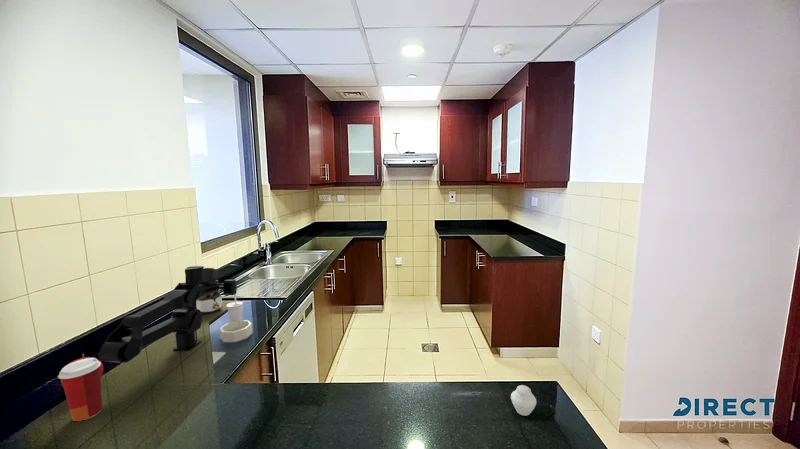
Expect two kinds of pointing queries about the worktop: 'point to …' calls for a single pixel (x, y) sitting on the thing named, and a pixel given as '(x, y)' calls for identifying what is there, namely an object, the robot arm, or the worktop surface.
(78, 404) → the paper cup
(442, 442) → the worktop surface
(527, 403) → the white rounded blob
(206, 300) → the spread jar
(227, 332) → the bowl
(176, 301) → the robot arm
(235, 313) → the smoothie
